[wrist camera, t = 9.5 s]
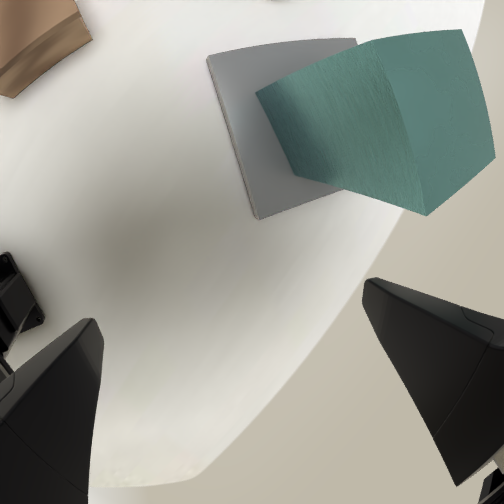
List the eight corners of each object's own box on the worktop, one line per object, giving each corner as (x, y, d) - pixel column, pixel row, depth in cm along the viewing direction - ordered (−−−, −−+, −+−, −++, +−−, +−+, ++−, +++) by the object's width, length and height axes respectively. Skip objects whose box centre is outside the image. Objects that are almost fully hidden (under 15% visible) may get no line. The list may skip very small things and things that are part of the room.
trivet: (255, 216, 21) (259, 220, 21) (206, 59, 16) (208, 55, 16) (380, 172, 23) (387, 174, 22) (348, 40, 18) (355, 38, 17)
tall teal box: (294, 175, 20) (426, 216, 9) (254, 92, 17) (371, 40, 7) (361, 140, 21) (495, 157, 10) (329, 64, 18) (461, 29, 7)
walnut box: (12, 102, 13) (-25, 94, 8) (-8, 45, 10) (-40, 29, 5) (96, 39, 14) (78, 10, 9) (70, -13, 11) (53, -45, 6)
